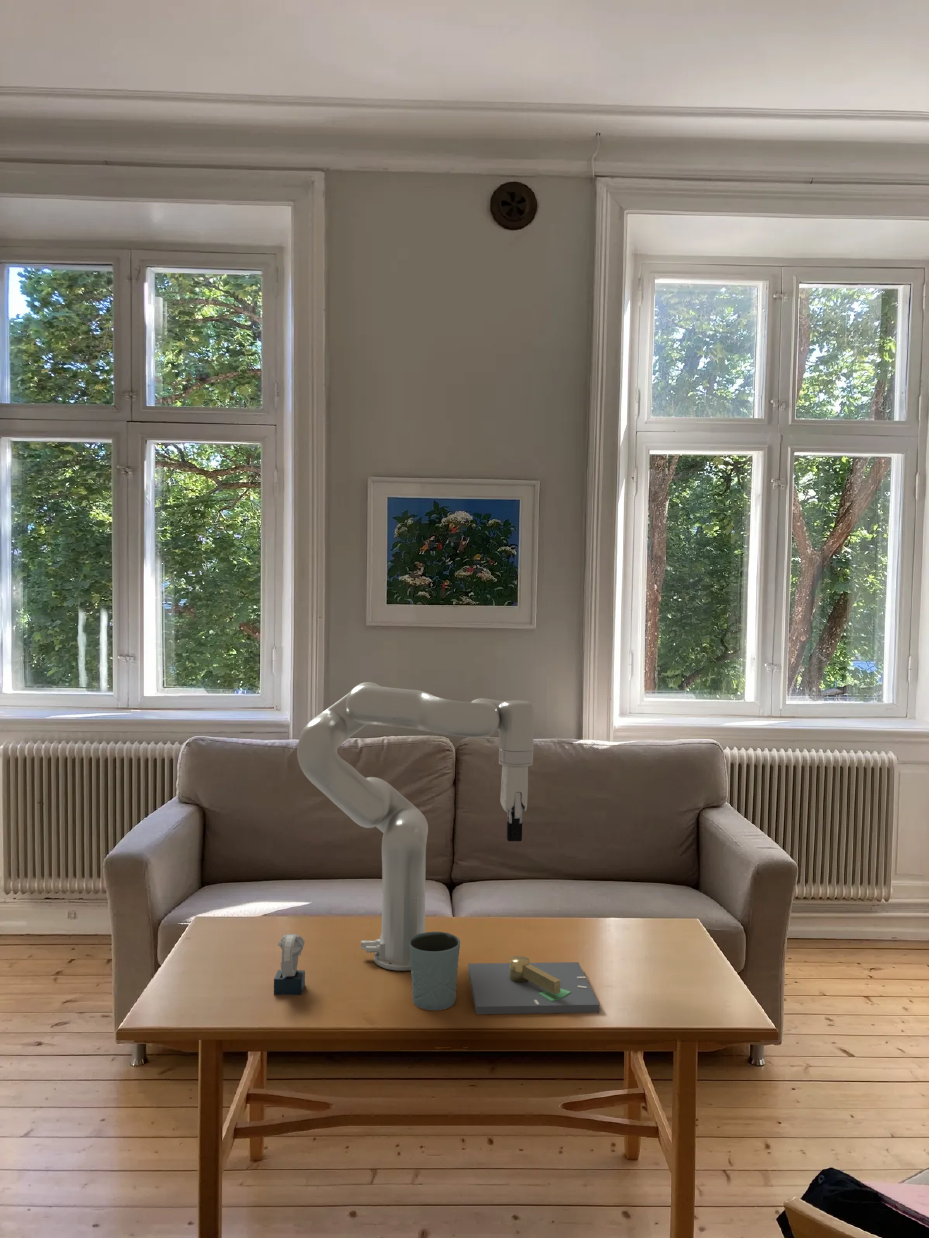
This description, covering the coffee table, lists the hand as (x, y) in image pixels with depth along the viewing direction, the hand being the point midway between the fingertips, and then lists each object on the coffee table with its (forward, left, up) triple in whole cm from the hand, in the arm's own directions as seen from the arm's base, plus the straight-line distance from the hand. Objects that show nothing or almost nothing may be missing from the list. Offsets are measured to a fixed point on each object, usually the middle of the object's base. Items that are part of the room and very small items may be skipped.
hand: (514, 840), depth 193 cm
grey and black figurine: (-47, -12, -27) cm, 56 cm away
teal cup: (-18, -18, -27) cm, 37 cm away
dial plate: (+2, -14, -27) cm, 31 cm away
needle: (+3, -16, -25) cm, 30 cm away
